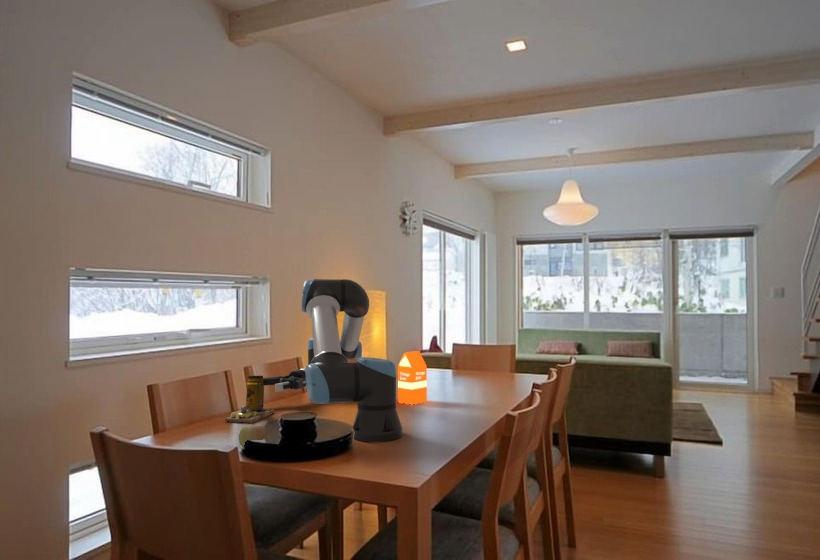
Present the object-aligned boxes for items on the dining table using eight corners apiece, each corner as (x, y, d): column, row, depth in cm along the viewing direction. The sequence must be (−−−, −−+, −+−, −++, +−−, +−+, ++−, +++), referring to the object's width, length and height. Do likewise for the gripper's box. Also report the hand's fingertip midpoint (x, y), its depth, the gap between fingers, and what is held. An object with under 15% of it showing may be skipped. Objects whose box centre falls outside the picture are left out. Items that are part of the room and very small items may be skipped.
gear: (248, 419, 183) (248, 409, 183) (225, 418, 185) (225, 409, 185) (261, 414, 191) (261, 404, 191) (239, 413, 193) (239, 404, 193)
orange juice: (427, 401, 217) (426, 351, 217) (412, 405, 210) (411, 353, 211) (413, 399, 222) (412, 350, 223) (397, 402, 216) (397, 352, 216)
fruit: (243, 454, 146) (243, 424, 147) (235, 448, 152) (235, 419, 153) (271, 449, 150) (270, 420, 151) (262, 443, 157) (262, 415, 157)
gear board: (252, 423, 182) (251, 419, 182) (225, 422, 185) (225, 417, 185) (274, 413, 198) (274, 409, 198) (249, 412, 200) (249, 408, 200)
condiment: (240, 410, 193) (241, 375, 195) (255, 408, 200) (256, 375, 202) (257, 410, 190) (258, 375, 192) (272, 409, 198) (273, 375, 200)
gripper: (326, 390, 210) (287, 400, 192) (278, 385, 223) (237, 394, 204) (325, 371, 210) (287, 378, 192) (278, 367, 223) (237, 374, 205)
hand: (261, 386), depth 198 cm, fingers open, 13 cm apart
